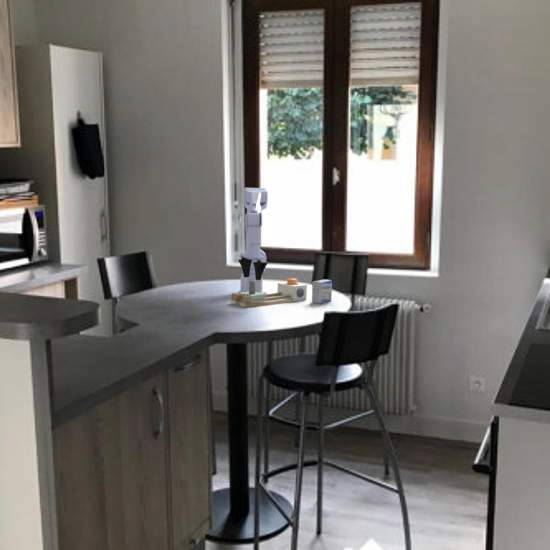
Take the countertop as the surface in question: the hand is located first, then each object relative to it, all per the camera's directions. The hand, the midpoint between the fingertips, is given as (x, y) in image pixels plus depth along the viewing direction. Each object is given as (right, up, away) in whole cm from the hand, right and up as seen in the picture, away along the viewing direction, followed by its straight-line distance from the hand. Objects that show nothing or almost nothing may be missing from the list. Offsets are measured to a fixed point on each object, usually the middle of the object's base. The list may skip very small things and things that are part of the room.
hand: (252, 278), depth 290 cm
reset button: (+16, -6, +14) cm, 22 cm away
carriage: (0, -7, +1) cm, 7 cm away
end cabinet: (+16, -8, +15) cm, 23 cm away
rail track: (+4, -9, +5) cm, 11 cm away
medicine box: (+27, -10, +9) cm, 30 cm away
